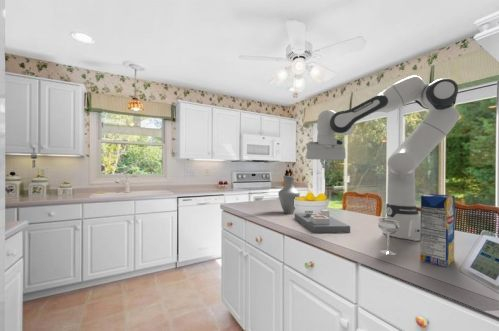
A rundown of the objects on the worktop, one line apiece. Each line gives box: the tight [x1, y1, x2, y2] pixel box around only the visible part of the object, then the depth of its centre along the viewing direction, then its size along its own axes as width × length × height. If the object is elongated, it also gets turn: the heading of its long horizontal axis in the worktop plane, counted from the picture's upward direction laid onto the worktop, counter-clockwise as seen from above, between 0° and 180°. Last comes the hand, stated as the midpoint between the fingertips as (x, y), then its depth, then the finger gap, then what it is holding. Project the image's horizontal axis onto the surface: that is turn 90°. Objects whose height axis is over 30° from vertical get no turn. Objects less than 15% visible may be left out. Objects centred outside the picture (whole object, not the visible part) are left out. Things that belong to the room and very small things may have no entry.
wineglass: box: [378, 217, 399, 256], centre depth 88 cm, size 7×7×12 cm
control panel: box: [294, 212, 351, 234], centre depth 130 cm, size 18×32×6 cm, turn 6°
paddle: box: [320, 209, 330, 218], centre depth 131 cm, size 4×2×4 cm, turn 96°
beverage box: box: [419, 193, 456, 268], centre depth 81 cm, size 7×11×22 cm, turn 129°
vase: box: [277, 175, 301, 214], centre depth 163 cm, size 14×14×25 cm
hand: (325, 168), depth 125 cm, fingers closed
